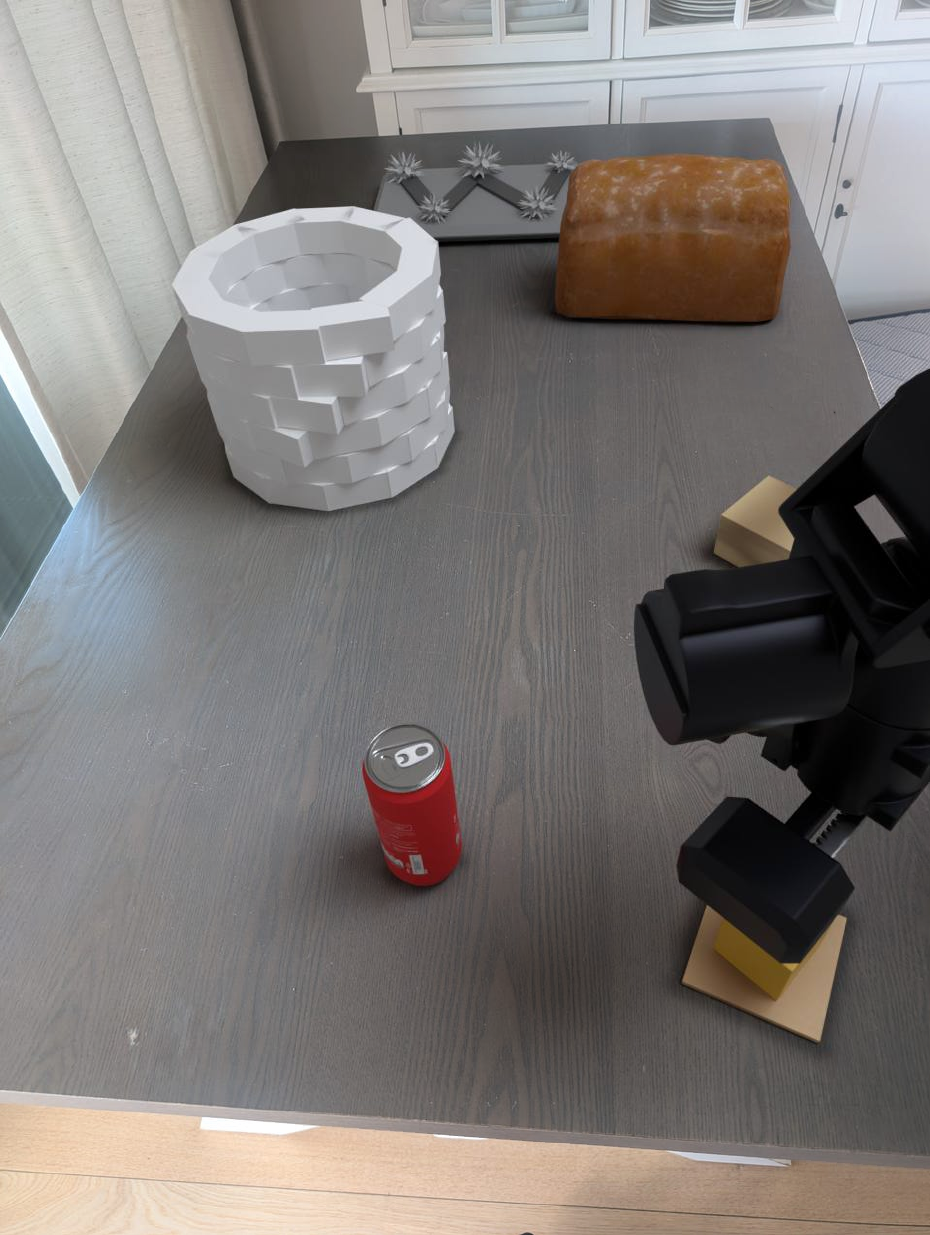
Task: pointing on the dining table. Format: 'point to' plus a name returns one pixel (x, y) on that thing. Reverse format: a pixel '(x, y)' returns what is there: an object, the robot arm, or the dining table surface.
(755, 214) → the bread
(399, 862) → the beverage can
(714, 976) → the cork coaster
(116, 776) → the dining table surface
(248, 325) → the basket
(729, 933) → the mustard cube
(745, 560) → the birch block
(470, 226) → the decorative plate
